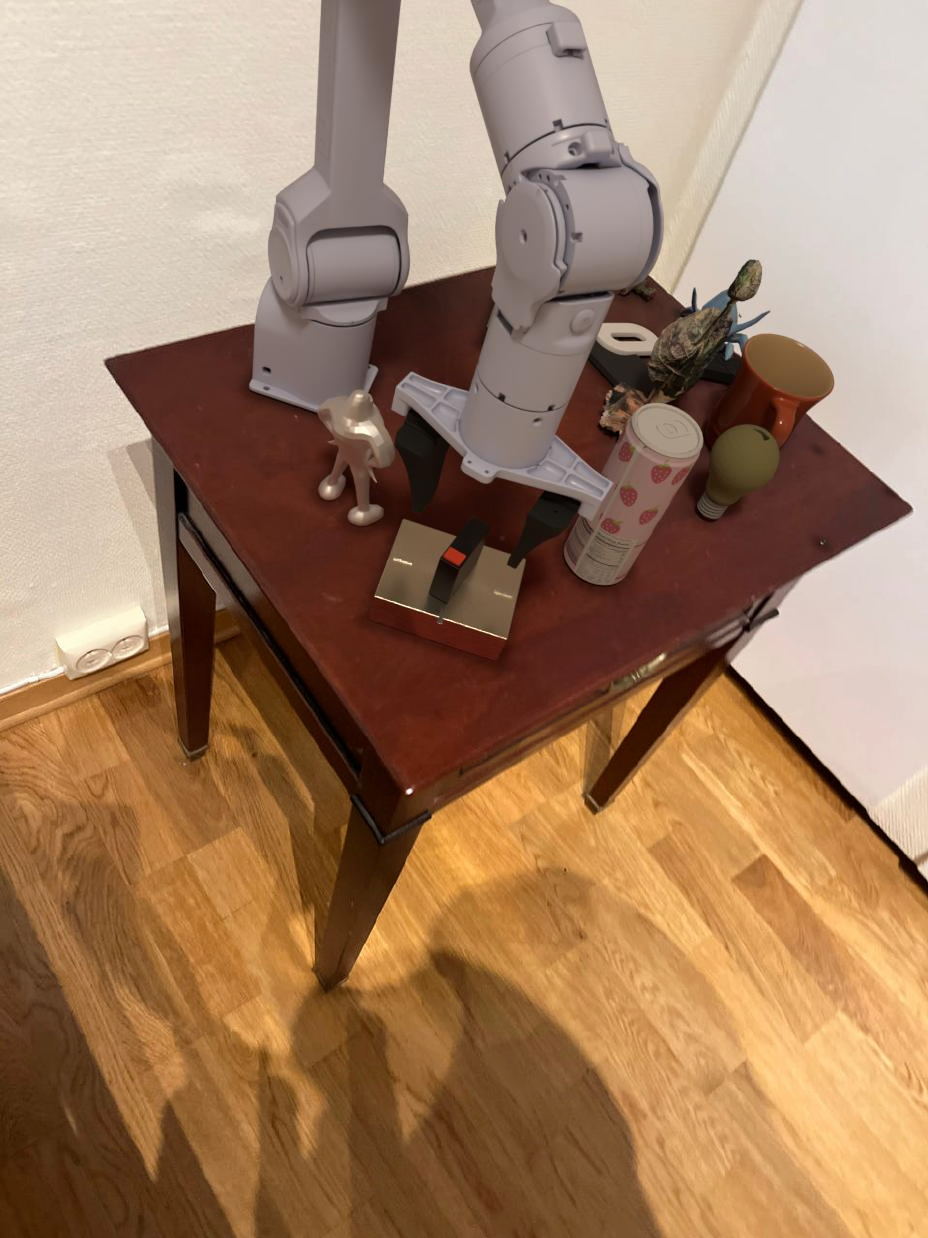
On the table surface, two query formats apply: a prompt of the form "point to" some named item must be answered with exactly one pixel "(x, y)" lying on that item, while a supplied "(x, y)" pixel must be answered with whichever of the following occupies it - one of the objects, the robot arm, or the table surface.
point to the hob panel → (472, 611)
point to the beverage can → (634, 492)
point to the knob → (459, 559)
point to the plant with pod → (682, 352)
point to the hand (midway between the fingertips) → (469, 531)
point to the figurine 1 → (356, 450)
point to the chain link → (626, 346)
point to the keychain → (623, 369)
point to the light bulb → (738, 467)
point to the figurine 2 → (723, 363)
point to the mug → (771, 388)
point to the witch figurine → (640, 289)
